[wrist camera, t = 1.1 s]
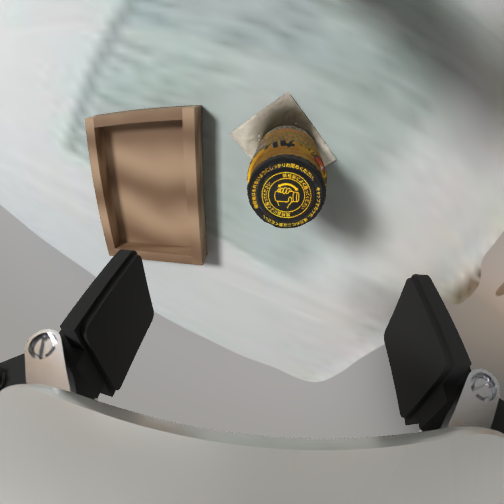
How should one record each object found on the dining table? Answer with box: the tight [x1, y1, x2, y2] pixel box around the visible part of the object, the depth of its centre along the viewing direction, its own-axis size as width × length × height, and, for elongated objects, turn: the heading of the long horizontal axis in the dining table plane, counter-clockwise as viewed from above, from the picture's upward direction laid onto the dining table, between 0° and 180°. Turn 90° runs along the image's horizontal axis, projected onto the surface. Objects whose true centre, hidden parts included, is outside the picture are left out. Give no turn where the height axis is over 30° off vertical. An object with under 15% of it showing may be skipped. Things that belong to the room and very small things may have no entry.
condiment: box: [230, 93, 336, 228], centre depth 23 cm, size 7×8×12 cm
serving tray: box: [85, 105, 207, 265], centre depth 31 cm, size 18×13×2 cm
